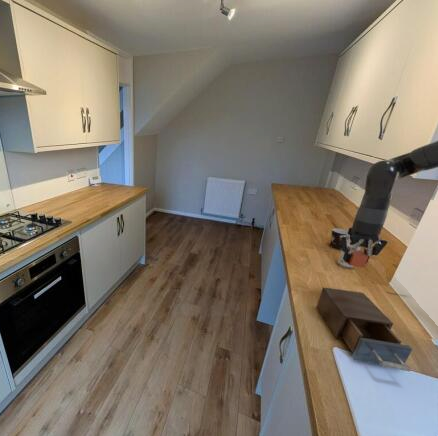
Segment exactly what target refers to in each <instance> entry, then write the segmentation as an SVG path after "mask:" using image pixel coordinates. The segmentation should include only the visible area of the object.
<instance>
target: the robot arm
mask: <svg viewBox="0 0 438 436" xmlns="http://www.w3.org/2000/svg"><path fill="white" fill-rule="evenodd" d="M437 168H438V140H436V141H432V142H430V143H427V144H424V145H422V146H419V147H417V148H415V149H413V150H411V151H409V152H407V153H404V154H401V155H398V156H394V157H392V158H389V159H384V160H379V161H375V163H374V164H373V163H372V165H371V166H370V167H369V169H368V171H367V174H366V178H365V179H366V180H365V187H364V193H363V196H362V199H361V202H360V205H359V207H358V209H357V211H356V214H355V217H354V220H353V223H352V226H351V228H352V231H351V232H350V233H349V235H344V236H343V235H339V245H340V249H341V250H342V251H343V252H345V253H344V256H343V260H344V261H345V262H346V263H349V262H350V259H351V256H352V253H353V251H354V250H356V249H357V248H358V247H361V248H363V249H362V250H363V251H362V252H363V253H365V254H366V255H367V256H368V259H367V262H366V264H368V262H369V260H370V257H372V256H378V255H379V254H380V253H381V252H382V250H383V249H384V248H385V247H386V246H387V244H388V241H387V240H386V239H384V238H382V237H379V236H380V235H381V233H382V230H383V227H384V225H385V222H386V220H387V217H388V212H389V209H390V207H391V203H392V200H393V197H394V193H393V188H394V185H395V182H396V181H397V180H400V179H403V178H406V177H409V176H412V175H414V174H418V173H420V172H425V171H430V170H433V169H437ZM349 238H350V242H349V243H348V246H347V241H348V239H349ZM353 244H354V245H353ZM341 250H340V251H341ZM366 264H365V265H366Z"/></svg>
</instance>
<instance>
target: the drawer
mask: <svg viewBox="0 0 438 436" xmlns="http://www.w3.org/2000/svg"><path fill="white" fill-rule="evenodd" d="M341 336H342V338H343V339H344V340H343V341H344V342H345V344H346V345H347V347H348V348H349V349H350V352H351V353H352V355H351V357H352V359H353V361H358V362H363V363H368V364H373V365H379V367H383V368H388V369H394V370H398V371H403V372H411V367H410V366H409V365H408V364H406V362H407V361H408V358H409V357H410V355H411V353H412V351H413V348H412V347H411V346H410V345H409V344H402V342H403V341H402V340H401V339H400V338H399V337H398V336H397V335H396V333H394V332H393V330H392V329H391V330H390V328H389V327H388V326H387V325H386V324H379V323H373V322H366V321H360V320H353V319H346V322H345V324H344V327H343V330H342V332H341Z"/></svg>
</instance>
